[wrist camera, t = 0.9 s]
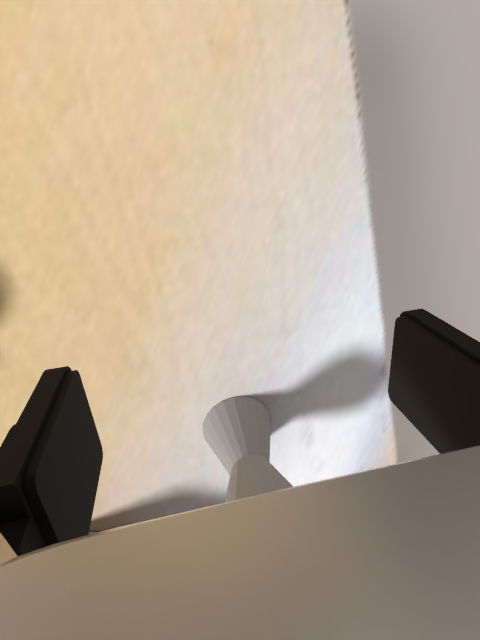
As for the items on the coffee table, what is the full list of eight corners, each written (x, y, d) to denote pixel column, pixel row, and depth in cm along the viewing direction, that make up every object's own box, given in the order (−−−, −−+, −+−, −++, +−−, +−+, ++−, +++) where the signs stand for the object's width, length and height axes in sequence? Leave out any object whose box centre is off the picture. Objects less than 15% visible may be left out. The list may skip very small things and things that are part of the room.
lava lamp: (188, 442, 47) (249, 1032, 15) (223, 384, 44) (382, 938, 13) (249, 461, 50) (404, 982, 18) (284, 408, 48) (532, 899, 16)
